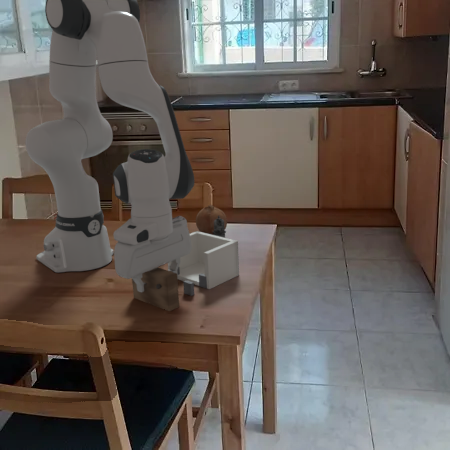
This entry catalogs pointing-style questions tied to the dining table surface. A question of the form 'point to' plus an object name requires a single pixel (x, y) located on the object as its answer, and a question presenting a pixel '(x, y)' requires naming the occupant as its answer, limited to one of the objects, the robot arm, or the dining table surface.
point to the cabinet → (208, 262)
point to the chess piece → (219, 227)
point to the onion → (209, 219)
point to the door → (159, 289)
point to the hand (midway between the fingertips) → (158, 283)
